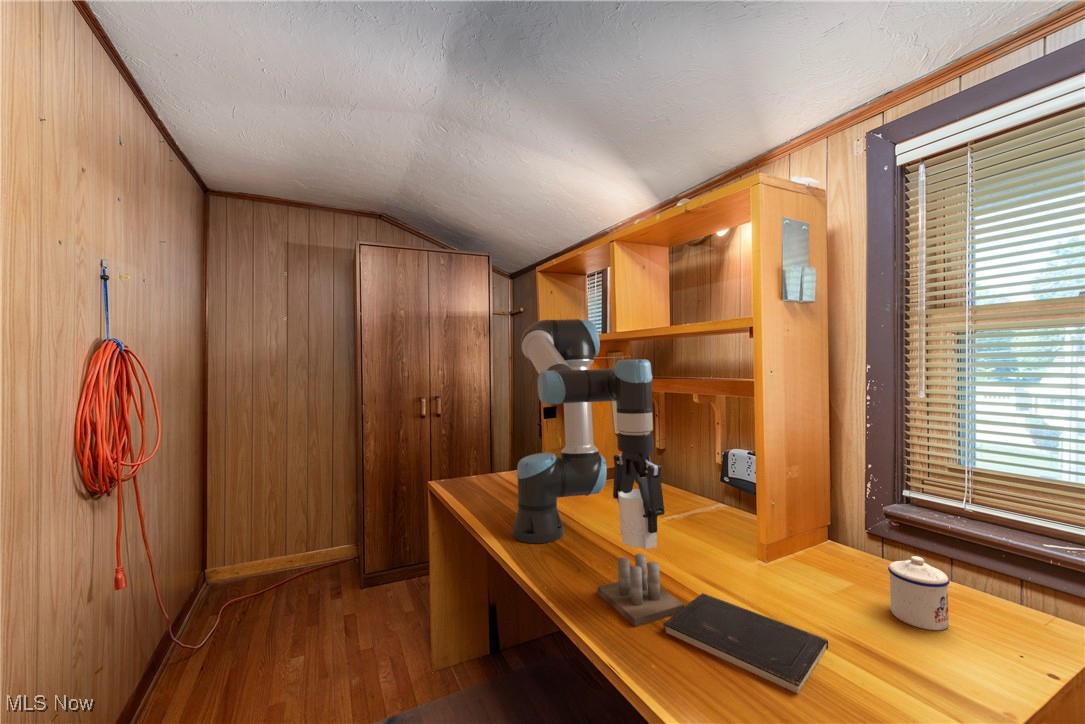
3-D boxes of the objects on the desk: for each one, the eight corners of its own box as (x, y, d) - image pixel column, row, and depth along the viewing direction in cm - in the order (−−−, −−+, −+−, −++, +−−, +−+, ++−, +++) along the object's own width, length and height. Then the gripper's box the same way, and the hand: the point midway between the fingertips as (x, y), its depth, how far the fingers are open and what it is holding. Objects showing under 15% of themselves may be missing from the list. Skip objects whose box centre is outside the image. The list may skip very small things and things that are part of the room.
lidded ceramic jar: (949, 638, 81) (948, 573, 81) (886, 619, 87) (884, 559, 87) (951, 610, 89) (950, 551, 89) (893, 595, 96) (892, 540, 96)
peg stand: (597, 593, 99) (596, 554, 99) (642, 581, 104) (641, 544, 104) (635, 626, 86) (634, 582, 86) (684, 611, 91) (683, 569, 91)
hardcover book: (798, 699, 68) (798, 684, 68) (663, 635, 84) (663, 623, 84) (828, 650, 79) (828, 637, 79) (703, 602, 95) (703, 591, 95)
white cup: (658, 550, 90) (657, 500, 90) (618, 548, 92) (617, 499, 92) (656, 535, 98) (655, 489, 98) (619, 533, 100) (618, 488, 100)
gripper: (682, 436, 87) (685, 554, 87) (622, 425, 106) (625, 522, 106) (650, 440, 84) (654, 562, 84) (595, 428, 103) (597, 528, 103)
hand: (638, 540), depth 95 cm, fingers closed on white cup, 7 cm apart
